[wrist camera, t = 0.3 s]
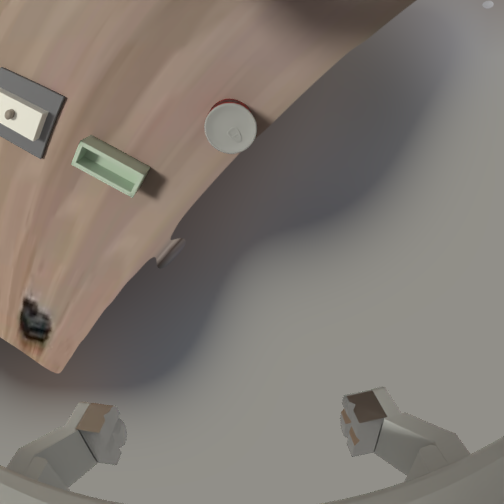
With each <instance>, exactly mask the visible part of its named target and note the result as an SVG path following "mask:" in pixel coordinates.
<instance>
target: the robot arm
mask: <svg viewBox="0 0 504 504" xmlns="http://www.w3.org/2000/svg"><path fill="white" fill-rule="evenodd" d="M342 404H343V407H344V409H343V411H342V412H341V417H340V419H341V420H340V421H341V429H342V432H343V435H344V436H345V437H347V438H348V441H347V446H348V448H349V451H350V453H351V456H352V457H353V456H359V455H364V454H368V453H373V452H375V454H376V455H378V456H379V457H381V458H382V459H383V460H385V461H386V462H388V463H389V464H391V465H392V466H393V467H395V468H396V469H398V470H399V471H401V472H402V473H404V474H405V475H407V478H406V479H405V481H404V482H403V483H400V484H397V485H394V486H391V487H388V488H385V489H381V490H378V491H374V492H370V493H367V494H363V495H359V496H355V497H351V498H346V499H342V500H337V501H332V502H327V503H321V504H504V436H503V437H501V438H500V439H498V440H497V441H495V442H493V443H491V444H489V445H487V446H486V447H484V448H482V449H480V450H478V451H476V452H474V453H472V454H470V453H469V451H468V450H467V449H466V447H465V446H464V444H463V443H462V442H461V440H460V439H459V438H458V436H457V435H456V434H455V433H453V432H450V431H448V430H445V429H443V428H440V427H438V426H435V425H433V424H431V423H428V422H426V421H423V420H421V419H419V418H417V417H414V416H412V415H410V414H408V413H401V411H400V410H399V408H398V407H397V405H396V404H395V402H394V400H393V399H392V397H391V396H390V394H389V393H388V391H387V390H386V388H385V387H380V388H375V389H371V390H367V391H362V392H358V393H353V394H348V395H344V397H343V402H342ZM119 415H120V412H119V410H118V408H117V407H116V406H112V405H104V404H97V403H87V402H80V403H78V405H77V407H76V408H75V410H74V411H73V413H72V414H71V416H70V418H69V419H68V421H67V423H66V424H65V426H64V427H59V428H58V429H55V430H54V431H52V432H50V433H48V434H46V435H44V436H42V437H40V438H39V439H37V440H35V441H33V442H31V443H29V444H27V445H25V446H23V447H21V448H19V449H18V450H17V452H16V453H15V455H14V456H13V458H12V460H11V461H10V463H9V464H8V466H7V467H6V468H5V467H3V466H1V465H0V504H122V503H117V502H112V501H107V500H102V499H98V498H93V497H89V496H85V495H82V494H78V493H74V492H71V491H70V490H69V489H68V487H70V486H71V485H72V484H73V483H75V482H76V481H77V480H78V479H79V478H81V476H83V475H84V474H85V473H86V472H87V471H89V470H90V469H91V468H92V467H94V466H95V465H96V464H97V462H99V463H105V464H112V465H117V463H118V461H119V458H120V455H121V451H120V449H119V448H120V447H122V446H123V445H124V444H125V441H126V437H127V431H126V426H125V424H124V422H123V421H122V420H121V419H119V418H118V417H119Z"/></svg>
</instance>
